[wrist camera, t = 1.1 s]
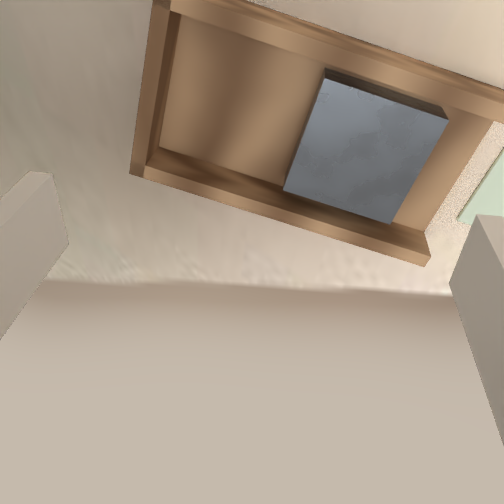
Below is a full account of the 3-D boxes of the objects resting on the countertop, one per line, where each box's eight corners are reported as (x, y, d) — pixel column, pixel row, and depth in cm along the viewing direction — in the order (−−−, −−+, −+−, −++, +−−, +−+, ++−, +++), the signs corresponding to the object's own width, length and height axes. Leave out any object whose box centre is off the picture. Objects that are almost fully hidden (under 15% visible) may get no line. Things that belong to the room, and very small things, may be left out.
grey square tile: (285, 174, 35) (282, 190, 33) (325, 67, 30) (324, 78, 28) (386, 207, 35) (390, 224, 33) (441, 106, 30) (449, 120, 28)
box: (146, 149, 36) (129, 173, 33) (174, -25, 29) (155, -16, 26) (415, 236, 37) (424, 267, 34) (506, 90, 30) (527, 112, 27)
